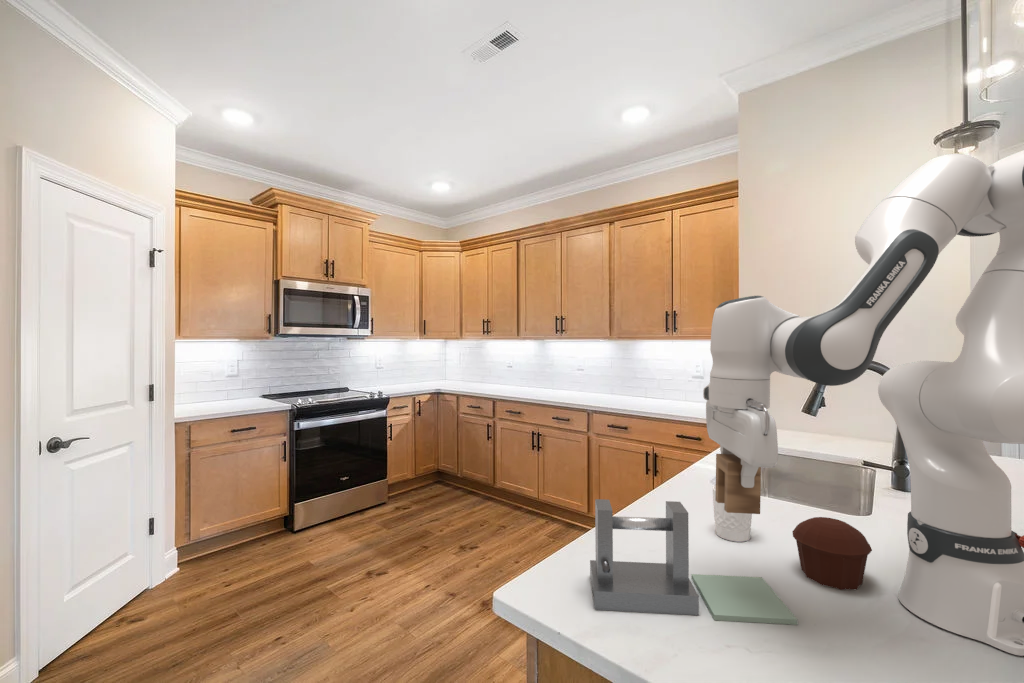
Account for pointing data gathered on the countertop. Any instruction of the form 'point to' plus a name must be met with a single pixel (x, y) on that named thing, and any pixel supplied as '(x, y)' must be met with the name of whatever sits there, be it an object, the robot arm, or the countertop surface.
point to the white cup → (731, 523)
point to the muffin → (832, 552)
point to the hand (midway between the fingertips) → (737, 479)
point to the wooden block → (736, 486)
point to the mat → (742, 599)
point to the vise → (643, 566)
